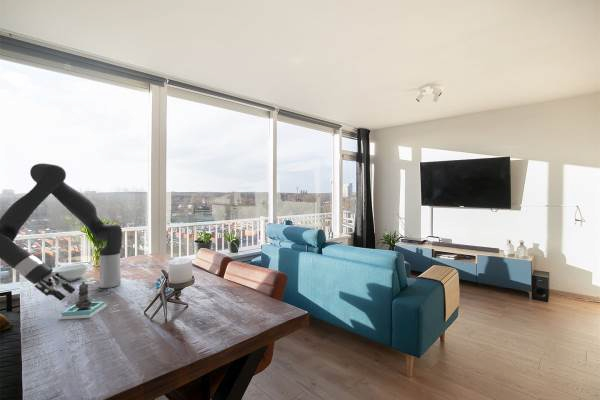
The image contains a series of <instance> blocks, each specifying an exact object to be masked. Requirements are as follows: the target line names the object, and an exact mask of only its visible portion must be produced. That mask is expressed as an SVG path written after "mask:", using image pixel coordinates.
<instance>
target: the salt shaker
mask: <svg viewBox="0 0 600 400" xmlns="http://www.w3.org/2000/svg"><path fill="white" fill-rule="evenodd" d="M78 287H79V288H78V293H77V295H78V300H77V301H75V302H74V305H75V304H76V307H77V308H78V310H76V311H82V310H90V309H91V308H90V307H89V306H90V305H91V302H93V298H92V299H91V298H89V293H90V291H89V290H88V289H89V288H88V287H89V285H88V284H87V283H86V282H85V281H82V283H81V284H80V285H79V286H78Z"/></svg>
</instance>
